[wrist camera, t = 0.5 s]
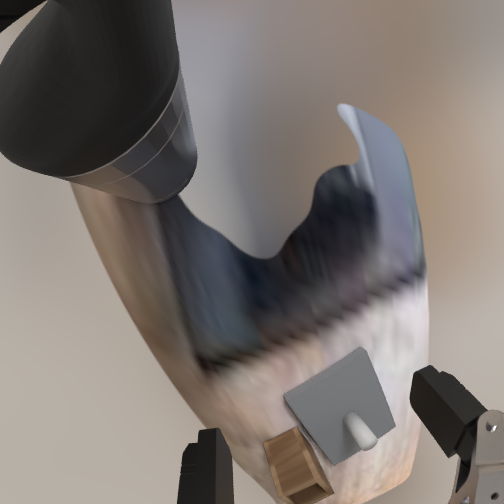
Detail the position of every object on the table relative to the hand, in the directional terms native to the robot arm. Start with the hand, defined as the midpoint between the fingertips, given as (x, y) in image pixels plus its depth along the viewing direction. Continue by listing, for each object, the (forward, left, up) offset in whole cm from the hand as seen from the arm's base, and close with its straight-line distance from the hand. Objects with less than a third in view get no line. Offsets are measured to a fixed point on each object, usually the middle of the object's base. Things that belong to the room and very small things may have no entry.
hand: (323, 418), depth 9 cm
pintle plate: (+21, +3, -20) cm, 29 cm away
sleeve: (+21, -6, -20) cm, 30 cm away
